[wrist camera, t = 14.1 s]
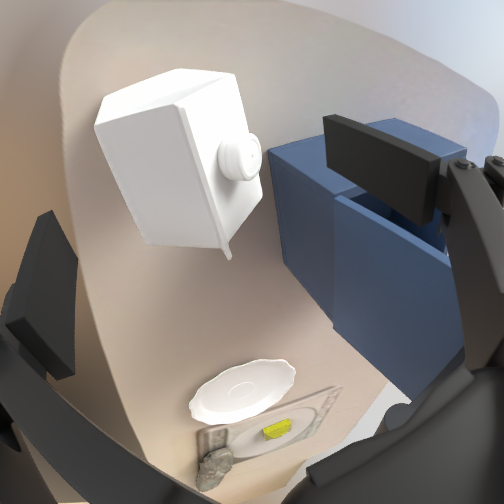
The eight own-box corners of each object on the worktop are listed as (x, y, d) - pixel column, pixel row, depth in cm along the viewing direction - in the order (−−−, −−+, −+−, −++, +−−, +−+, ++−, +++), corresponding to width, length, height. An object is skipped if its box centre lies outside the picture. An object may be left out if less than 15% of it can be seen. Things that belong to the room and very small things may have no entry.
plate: (286, 397, 66) (289, 403, 65) (195, 427, 60) (197, 434, 58) (296, 338, 54) (301, 345, 53) (178, 375, 48) (181, 383, 46)
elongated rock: (188, 484, 84) (216, 476, 89) (194, 497, 81) (222, 489, 86) (199, 451, 66) (236, 441, 71) (207, 470, 62) (245, 458, 67)
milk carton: (129, 164, 28) (158, 292, 14) (103, 96, 24) (85, 147, 9) (198, 135, 30) (300, 229, 15) (177, 67, 25) (273, 78, 11)
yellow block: (293, 413, 74) (298, 422, 72) (292, 427, 79) (296, 435, 77) (256, 429, 71) (261, 438, 69) (258, 441, 76) (262, 449, 74)
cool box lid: (571, 345, 10) (499, 479, 7) (471, 444, 20) (404, 514, 17) (340, 194, 24) (242, 243, 21) (338, 324, 34) (271, 369, 31)
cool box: (394, 117, 37) (467, 148, 28) (390, 217, 47) (445, 258, 38) (267, 149, 33) (333, 194, 24) (283, 263, 43) (333, 324, 34)
